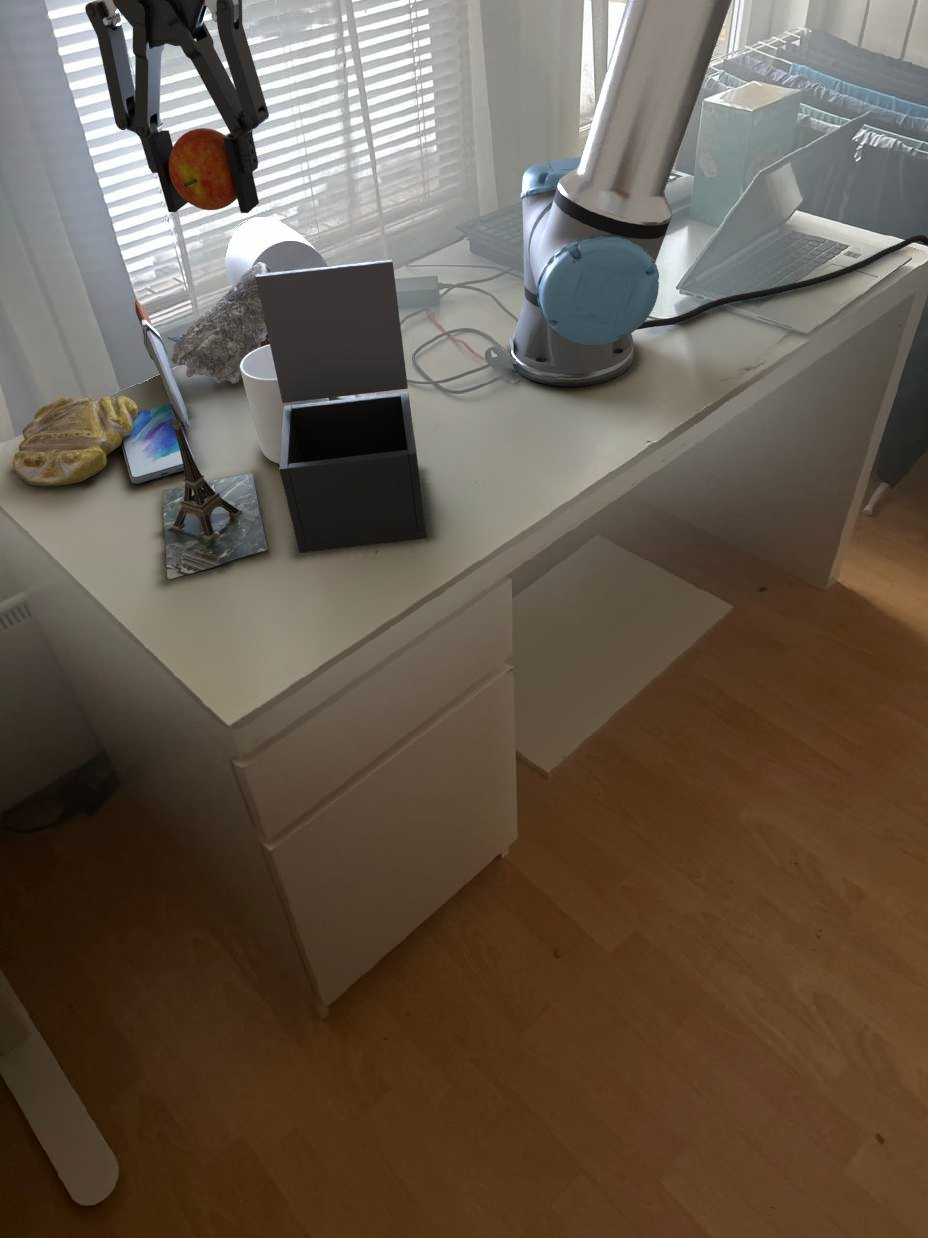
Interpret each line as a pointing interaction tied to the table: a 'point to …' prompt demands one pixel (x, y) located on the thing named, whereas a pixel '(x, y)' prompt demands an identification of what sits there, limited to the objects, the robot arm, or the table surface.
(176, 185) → the fruit
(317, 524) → the open storage box
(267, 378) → the mug
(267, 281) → the lid
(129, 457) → the smartphone
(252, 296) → the rock
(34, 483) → the sculpture
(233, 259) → the toilet paper
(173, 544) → the eiffel tower figurine
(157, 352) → the dagger
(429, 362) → the table surface
